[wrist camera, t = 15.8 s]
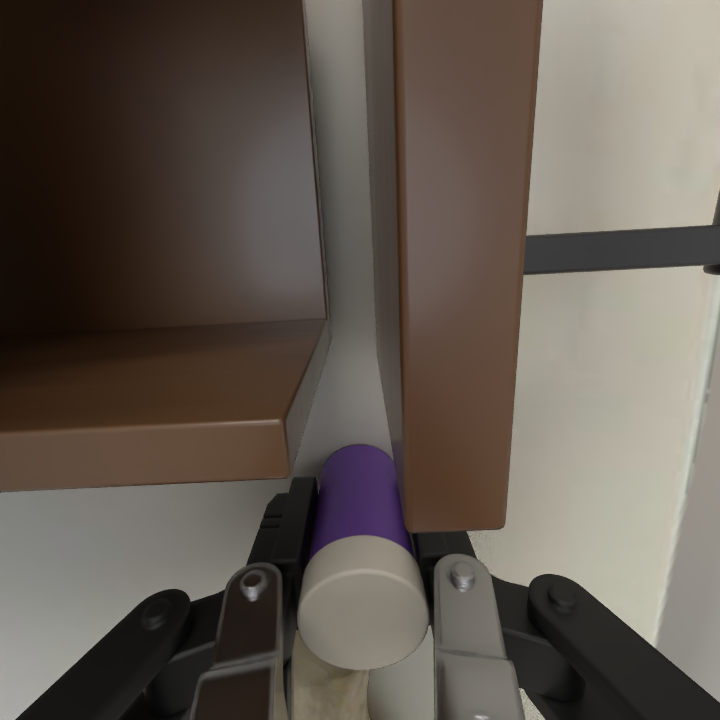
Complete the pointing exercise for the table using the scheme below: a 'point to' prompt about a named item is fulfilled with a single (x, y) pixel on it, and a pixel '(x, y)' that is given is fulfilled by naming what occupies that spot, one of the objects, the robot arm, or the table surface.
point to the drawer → (268, 242)
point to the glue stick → (361, 567)
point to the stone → (327, 688)
